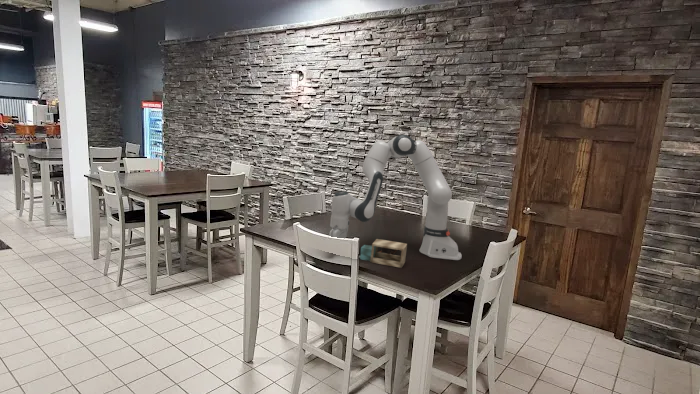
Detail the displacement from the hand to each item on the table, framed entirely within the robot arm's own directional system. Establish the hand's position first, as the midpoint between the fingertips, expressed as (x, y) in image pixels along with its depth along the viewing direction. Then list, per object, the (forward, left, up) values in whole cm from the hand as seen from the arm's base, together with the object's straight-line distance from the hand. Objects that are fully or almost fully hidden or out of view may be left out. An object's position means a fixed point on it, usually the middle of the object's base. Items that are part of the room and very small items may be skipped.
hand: (336, 249), depth 202 cm
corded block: (-10, 0, -2) cm, 10 cm away
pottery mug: (-24, -12, -2) cm, 27 cm away
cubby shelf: (-27, 0, -2) cm, 27 cm away
